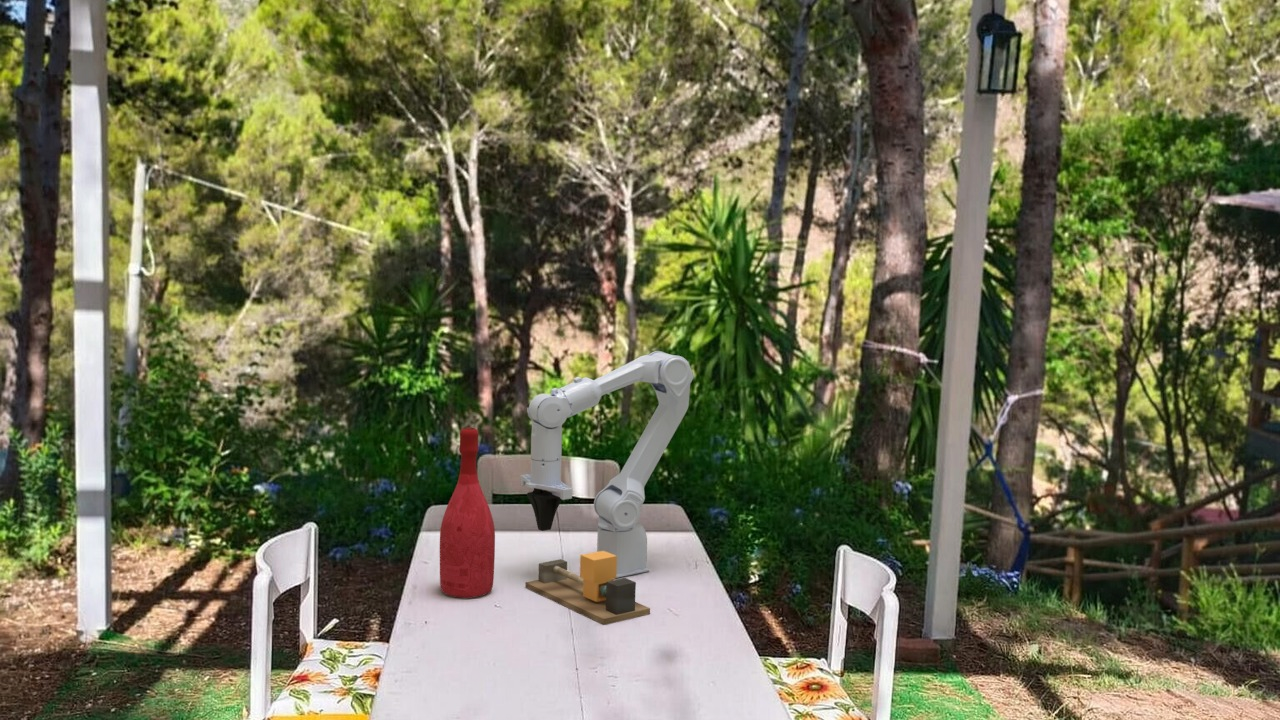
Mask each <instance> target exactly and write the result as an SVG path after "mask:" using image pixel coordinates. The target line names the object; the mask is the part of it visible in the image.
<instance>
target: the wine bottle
mask: <svg viewBox="0 0 1280 720" xmlns="http://www.w3.org/2000/svg"><path fill="white" fill-rule="evenodd" d="M459 438H460V439H459V448H458V449H459V450H458V452H459V453H460V455H461V456H460V457H461V458H460V467H459V468H460V471H459V475H458V480H457V484H456V486H455V488H454V491H453V492H452V496H451V497H450V499H449V501H448V504H447V506H446V509H445V511H444V514H443V516H442V517H443V518H442V521H441V524H440V531H439V585H440V590H441V591H442V593H444V594H445V595H447V596H450V597H455V598H461V599H463V598H464V599H465V598H466V599H467V598H477V597H478V598H479V597H482V596H484V595H487V594H488V593H490V592H491V590H493V587H494V577H495V559H496V558H495V553H496V549H495V548H496V534H495V533H496V531H495V524H494V518H493V515H492V512H491V511H492V510H491V509H490V506H489V503H488V502H487V499H486V497H485V493H484V491H483V489H482V487H481V484H480V481H479V476H478V470H477V454H478V452H479V430H478V429H477V428H476V427H475V428H474V427H463V428H461V430H460V432H459Z"/></svg>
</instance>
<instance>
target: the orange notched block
mask: <svg viewBox="0 0 1280 720" xmlns="http://www.w3.org/2000/svg"><path fill="white" fill-rule="evenodd" d="M579 560H580V562H579V565H580V567H579V576H580V577H581V578H583V596H584V597H587V598H589V599H591V600H593V601H595V602H598V601H603V600H606V597H604V596H602V595H601V593H600V592H599V584H600V585H602V586H603V585H606V582H607V581H612V580H616V579H617V578H616V576H617V556H616V555H613V554H611V553H608V552H605V551H599V552H597V551H594V552H589V553H584V554H580V559H579Z"/></svg>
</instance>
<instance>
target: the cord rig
mask: <svg viewBox="0 0 1280 720" xmlns="http://www.w3.org/2000/svg"><path fill="white" fill-rule="evenodd" d="M636 584H637V583H636V581H633V580H631V579H629V578H626V577H621V578H616V579H613V580H612V581H607V582H606V585H603V586H602V585H600V584H599V592H600V593H601V595H602V596H604V597H606V600H603V601H598V602H595V601H593V600H591V599H589V598H587V597H584V596H583V578H581V577H580V574H577V573H574V572H572V571H570V570H568V561H566V560H564V559H562V558H560V559H554V560H550V561H543V562H539V563H538V578H537V579H536V580H535V579H534V580H531V581H530V580H529V581H525V588H526V589H527V590H530V591H531V592H534V593H535V594H538V595H540V596H542V597H545V598H547V600H550V601H553V602H554V603H557V604H559V605H561V606H563V607H566V608H568V610H572V611H574V612H576V613H578V614H580V615H582V616H584V617H586V618H588V619H591V620H592V621H595V622H597V623H599V624H601V625H603V626H605V625H608V624H610V625H611V624H613V623H618V622H621V621H626V620H627V621H628V620H630V619H634V618H640V617H642V616H647V615H650V614H651V607H648V606H646V605H643V604H642V603H639V602H637V601H636V587H637V585H636Z"/></svg>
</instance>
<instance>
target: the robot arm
mask: <svg viewBox="0 0 1280 720" xmlns="http://www.w3.org/2000/svg"><path fill="white" fill-rule="evenodd" d="M694 376H695V375H694V374H693V371H692V368H691V365H690V363H689V361H688V360H687V359H686V358H684V357H683V356H680V355H674V354H671V353H670V354H669V353H666V352H664V351H662V350H661V351H660V350H655V351H653V352H650V353H649V354H645V355H641V356H639V357H638V358H636V359H634V360H631V361H629V362H628V363H626V364H623V365H622V366H619V367H617V368H616V369H614V370H612V371H610V372H608V373H606V374H604V375H601V376H600V377H598V378H595V379H591V378H589V377H587V376H585V377H583V378H582V377H581V376H577V377H573V379H572V380H573V382H570V383H568V384H566V385H564V386H562V387H560V388H559V387H558V388H557V387H553V388H551V389H550V394H548V393H539V394H537V395H535V396H534V397H532V400H531V401H530V403H529V406H528V407H526V411H527V414H528V415H527V416H528V417H529V419H530V420H531V434H530V436H531V437H530V474H529V473H527V474H520V476H519V477H520V479H519V480H520V482H519V485H520V486H525V487H526V488H528V489H533V490H532V491H529V492H527V493H526V497H527V498H528V500H529V502H530V504H531V506H532V509H533V513H534V517H535V521H536V525H537V530H538V531H540V532H541V531H542V532H545V531H550V530H552V527H553V523H554V519H555V517H556V513H557V510H558V508H559V506H560V504H561V502H562V501H565V500H569V499H570V500H571V499H573V488H572V487H570V486H568V485H567V484H566V483H564V482H563V481H562V454H563V453H562V452H563V451H562V445H563V444H562V443H563V442H562V441H563V439H562V438H563V429H562V428H563V426H562V425H563V424H564V423H565V422H566V421H567V418H571V417H573V416H575V415H577V414H579V413H582V412H584V411H586V410H588V409H589V410H590V408H593V407H595V406H597V405H598V404H599V402H600V400H601V399H602V396H604V395H607V394H610V393H612V392H615V391H617V390H619V389H622V388H624V387H628V386H630V385H633V384H635V383H638V382H641V383H649V384H650V386H652V388H653V390H654V392H655V395H656V399H657V402H658V406H657V407H656V409H655V411H654V412H653V414H652V416H651V418H650V420H649V421H648V423H647V424H646V427H645V429H644V430H643V432H642V434H641V436H640V437H639V439H638V441H637V443H636V444H635V446H634V447H633V449H632V452H631V453H630V455H629V457H628V458H627V460H626V462H625V464H624V466H622V469H621V470H620V473H618V474H617V475H615V476H614V477H613V478H611V479H610V480H609V482H608V483H607V485H606V486H605V487H604V488H603V489H602V490H600V491H599V492H598V493H597V494H596V496H595V497H594V501H593V509H594V511H595V513H596V515H597V516H598V517H599V518H598V522H597V536H596V537H597V538H596V539H597V543H596V545H597V548H596V552H599V551H605V552H608V553H611V554H613V555H616V556H617V576H616V578H615V579H619V578H624V577H627V576H632V575H636V574H641V573H646V572H649V571H650V570H649V568H648V567H647V561H648V560H647V559H648V558H647V557H648V535H647V533H646V532H647V531H646V529H645V528H644V527H643V526H642V525H641V524H640V523H638V522H639V519H640V517H641V509H642V506H643V504H644V502H645V499H646V495H645V486H646V484H647V483H648V481H649V479H650V477H651V475H652V473H653V472H654V471H655V468H656V467H657V465H658V463H659V461H660V459H661V457H662V456H663V454H664V452H665V450H666V448H667V447H668V445H669V444H670V441H671V439H672V438H673V436H674V434H675V432H676V431H677V430H678V428H679V425H680V424H681V422H682V420H683V419H684V417H685V415H686V413H687V411H688V408H689V405H690V392H691V391H690V390H691V383H692V381H693V380H694Z"/></svg>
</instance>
